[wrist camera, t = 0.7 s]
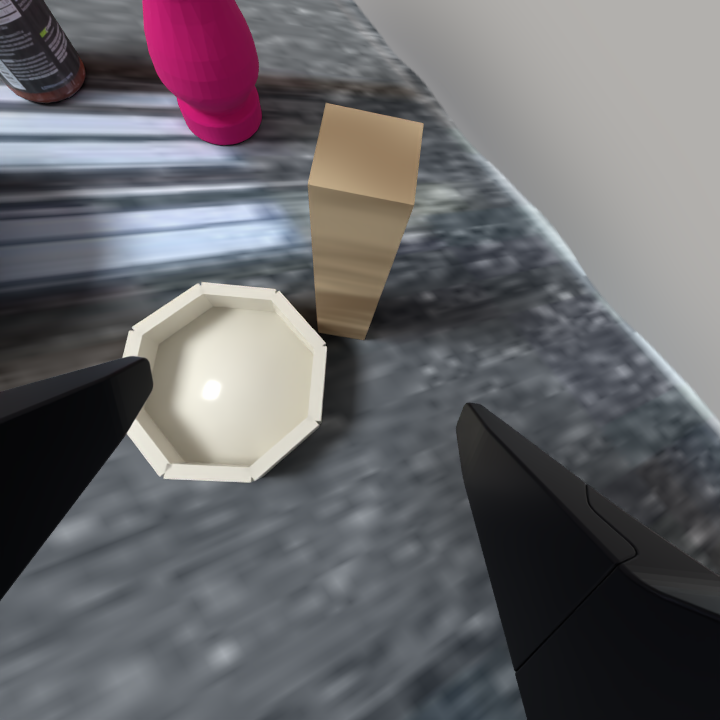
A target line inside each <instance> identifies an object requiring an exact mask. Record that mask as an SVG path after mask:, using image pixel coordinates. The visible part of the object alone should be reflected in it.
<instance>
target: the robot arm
mask: <svg viewBox="0 0 720 720" xmlns="http://www.w3.org/2000/svg"><path fill="white" fill-rule="evenodd" d="M152 389H153V378H152V372H151V366H150V362H149V360H148V359H147V358H144V357H137V356H128V357H124V358H121V359H117V360H114V361H110V362H106V363H103V364H99V365H96V366H92V367H88V368H85V369H81V370H77V371H74V372H70V373H67V374H63V375H59V376H56V377H52V378H49V379H45V380H41V381H38V382H34V383H31V384H27V385H23V386H20V387H16V388H13V389H9V390H5V391H2V392H0V601H1V599H2V598H3V597H4V595H5V594H6V593H7V591H8V590H9V589H10V587H11V586H12V585H13V583H14V582H15V581H16V579H17V578H18V577H19V575H20V574H21V573H22V572H23V570H24V569H25V568H26V566H27V565H28V564H29V562H30V561H31V560H32V558H33V557H34V556H35V554H36V553H37V552H38V550H39V549H40V548H41V546H42V545H43V544H44V543H45V541H46V540H47V539H48V537H49V536H50V535H51V533H52V532H53V531H54V529H55V528H56V527H57V525H58V524H59V523H60V521H61V520H62V519H63V517H64V516H65V515H66V514H67V512H68V511H69V510H70V508H71V507H72V506H73V504H74V503H75V502H76V500H77V499H78V498H79V496H80V495H81V494H82V492H83V491H84V490H85V488H86V487H87V486H88V484H89V483H90V482H91V481H92V479H93V478H94V477H95V475H96V474H97V473H98V471H99V470H100V469H101V467H102V466H103V465H104V463H105V462H106V461H107V459H108V458H109V457H110V455H111V454H112V453H113V452H114V450H115V449H116V448H117V446H118V445H119V444H120V442H121V441H122V439H123V438H124V437H125V435H126V434H127V432H128V430H129V429H130V427H131V426H132V424H133V422H134V421H135V419H136V417H137V415H138V414H139V412H140V410H141V409H142V407H143V405H144V404H145V402H146V400H147V399H148V397H149V395H150V394H151V392H152ZM456 434H457V441H458V448H459V455H460V462H461V469H462V475H463V480H464V484H465V488H466V492H467V495H468V499H469V503H470V506H471V510H472V514H473V518H474V521H475V525H476V529H477V533H478V536H479V540H480V544H481V548H482V551H483V555H484V559H485V563H486V566H487V570H488V574H489V578H490V581H491V585H492V589H493V592H494V596H495V600H496V604H497V607H498V611H499V615H500V619H501V622H502V626H503V630H504V634H505V637H506V641H507V645H508V649H509V652H510V656H511V660H512V663H513V667H514V670H515V671H516V673H515V676H516V679H517V683H518V687H519V691H520V694H521V698H522V702H523V706H524V709H525V713H526V717H527V720H720V576H719V575H717V574H716V573H714V572H713V571H711V570H710V569H708V568H707V567H705V566H704V565H702V564H701V563H699V562H698V561H696V560H695V559H693V558H692V557H691V556H689V555H688V554H686V553H685V552H683V551H682V550H680V549H679V548H677V547H676V546H674V545H673V544H671V543H670V542H668V541H667V540H665V539H664V538H662V537H661V536H659V535H658V534H657V533H655V532H654V531H652V530H651V529H649V528H648V527H646V526H645V525H643V524H642V523H640V522H639V521H638V520H636V519H635V518H633V517H632V516H630V515H629V514H627V513H626V512H625V511H623V510H622V509H620V508H619V507H618V506H616V505H615V504H614V503H612V502H611V501H609V500H608V499H607V498H605V497H604V496H603V495H601V494H600V493H599V492H597V491H596V490H595V489H593V488H592V487H591V486H589V485H586V484H585V482H584V481H582V480H581V479H580V478H578V477H577V476H576V475H574V474H573V473H572V472H570V471H569V470H568V469H566V468H565V467H564V466H562V465H561V464H560V463H558V462H557V461H556V460H554V459H553V458H552V457H550V456H549V455H548V454H546V453H545V452H544V451H542V450H541V449H540V448H538V447H537V446H536V445H534V444H533V443H532V442H530V441H529V440H528V439H526V438H525V437H524V436H522V435H521V434H520V433H518V432H517V431H516V430H514V429H513V428H512V427H510V426H509V425H508V424H506V423H505V422H504V421H502V420H501V419H500V418H498V417H497V416H496V415H494V414H493V413H492V412H490V411H489V410H488V409H486V408H485V407H483V406H482V405H480V404H475V403H466V404H465V405H464V407H463V410H462V412H461V415H460V417H459V420H458V423H457V426H456Z"/></svg>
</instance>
